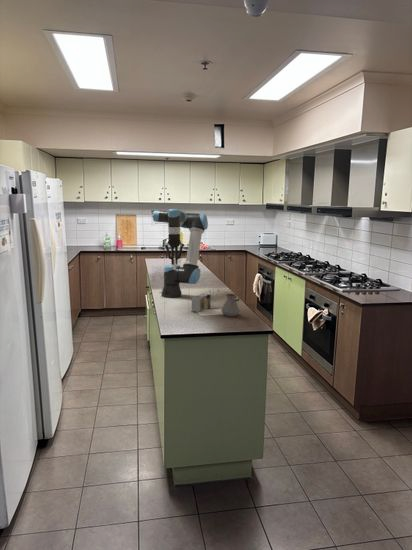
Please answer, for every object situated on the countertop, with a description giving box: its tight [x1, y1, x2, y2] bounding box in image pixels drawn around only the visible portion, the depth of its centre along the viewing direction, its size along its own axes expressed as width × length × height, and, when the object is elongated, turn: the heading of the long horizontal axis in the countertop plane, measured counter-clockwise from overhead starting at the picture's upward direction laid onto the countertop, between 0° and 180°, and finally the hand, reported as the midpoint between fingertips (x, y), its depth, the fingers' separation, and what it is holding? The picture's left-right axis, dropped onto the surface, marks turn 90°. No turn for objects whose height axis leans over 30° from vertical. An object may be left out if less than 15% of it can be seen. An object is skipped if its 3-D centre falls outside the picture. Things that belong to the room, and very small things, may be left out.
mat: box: [196, 308, 225, 317], centre depth 255 cm, size 12×18×1 cm, turn 109°
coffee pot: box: [221, 293, 241, 318], centre depth 244 cm, size 21×12×15 cm, turn 13°
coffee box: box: [191, 293, 212, 313], centre depth 261 cm, size 9×6×16 cm
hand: (174, 269), depth 260 cm, fingers closed
